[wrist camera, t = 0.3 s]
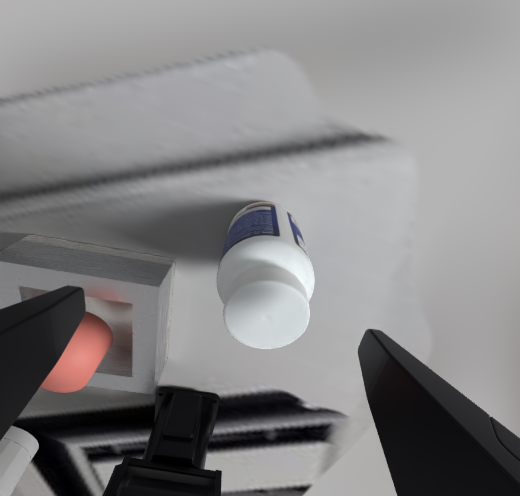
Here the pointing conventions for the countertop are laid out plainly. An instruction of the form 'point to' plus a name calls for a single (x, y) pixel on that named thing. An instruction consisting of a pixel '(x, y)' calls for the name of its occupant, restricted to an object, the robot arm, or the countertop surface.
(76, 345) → the plunger
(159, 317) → the frame
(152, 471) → the robot arm
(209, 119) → the countertop surface
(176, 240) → the countertop surface
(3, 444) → the cup
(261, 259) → the pill bottle
